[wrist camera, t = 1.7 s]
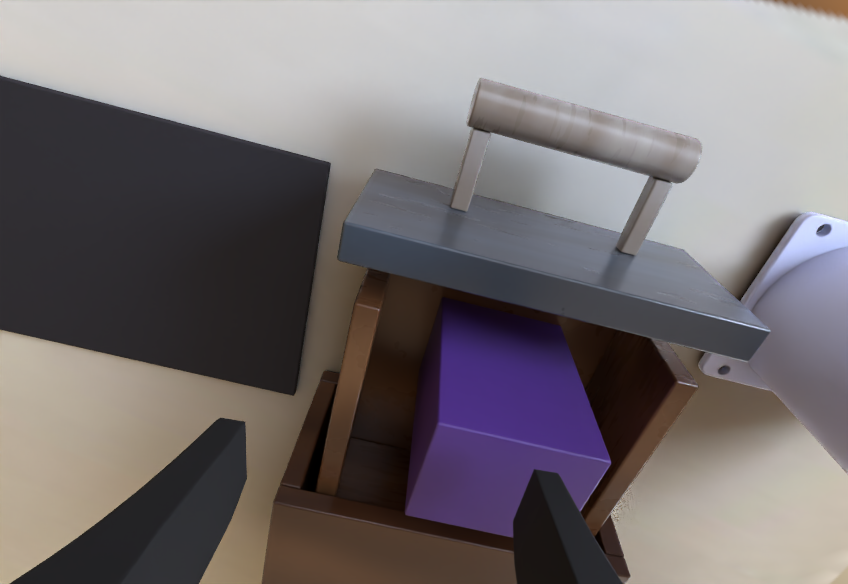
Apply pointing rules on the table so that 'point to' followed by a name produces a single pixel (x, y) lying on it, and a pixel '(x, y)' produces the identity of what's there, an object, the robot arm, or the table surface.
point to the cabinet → (377, 530)
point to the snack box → (497, 419)
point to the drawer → (526, 295)
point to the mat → (155, 238)
